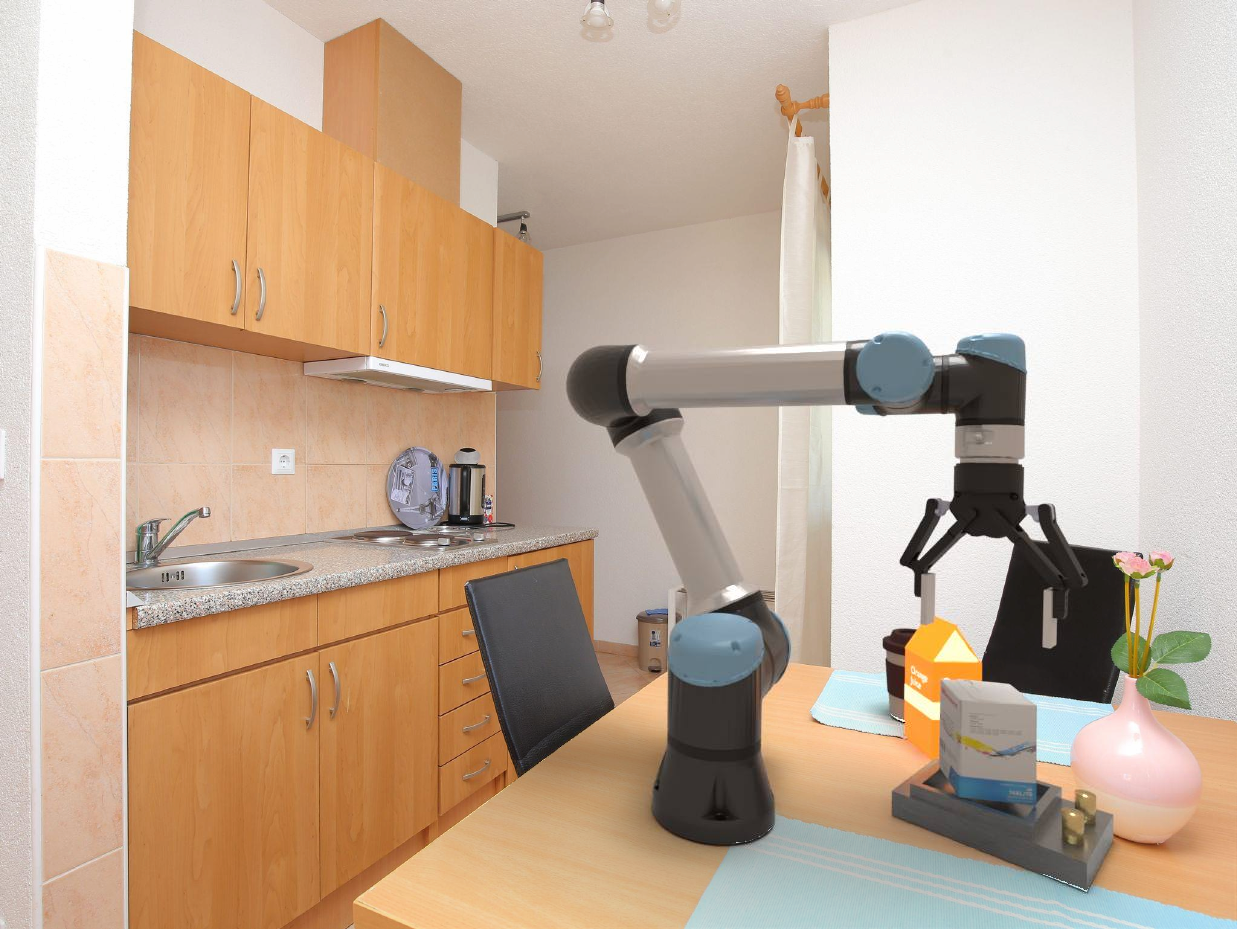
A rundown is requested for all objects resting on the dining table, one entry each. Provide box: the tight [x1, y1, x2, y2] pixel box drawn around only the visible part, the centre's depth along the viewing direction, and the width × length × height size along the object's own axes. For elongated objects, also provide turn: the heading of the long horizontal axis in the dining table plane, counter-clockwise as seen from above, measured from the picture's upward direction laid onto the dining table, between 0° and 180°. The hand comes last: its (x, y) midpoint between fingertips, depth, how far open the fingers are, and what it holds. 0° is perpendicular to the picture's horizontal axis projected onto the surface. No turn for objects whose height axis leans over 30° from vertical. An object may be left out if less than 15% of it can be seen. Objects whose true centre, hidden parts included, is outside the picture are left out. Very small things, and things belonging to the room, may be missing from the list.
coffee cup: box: [882, 627, 918, 720], centre depth 113 cm, size 10×10×15 cm
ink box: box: [939, 679, 1038, 805], centre depth 79 cm, size 8×8×12 cm
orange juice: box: [903, 616, 983, 761], centre depth 101 cm, size 8×9×20 cm
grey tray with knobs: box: [891, 758, 1114, 890], centre depth 78 cm, size 20×14×6 cm
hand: (984, 634), depth 79 cm, fingers open, 13 cm apart
